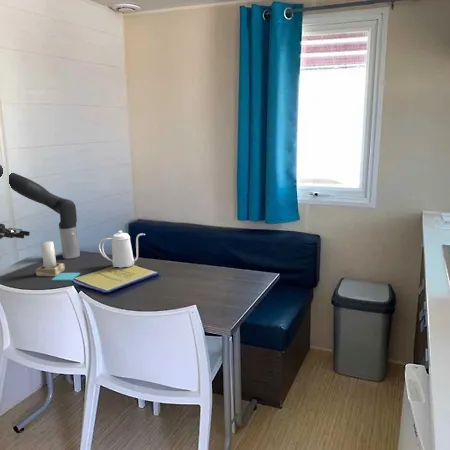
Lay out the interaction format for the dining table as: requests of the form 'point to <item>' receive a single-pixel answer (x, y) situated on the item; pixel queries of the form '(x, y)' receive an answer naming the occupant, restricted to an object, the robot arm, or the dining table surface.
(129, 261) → the coffeepot
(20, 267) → the dining table surface
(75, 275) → the mat
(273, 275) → the dining table surface
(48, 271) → the holder
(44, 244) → the white cylinder
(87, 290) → the dining table surface
